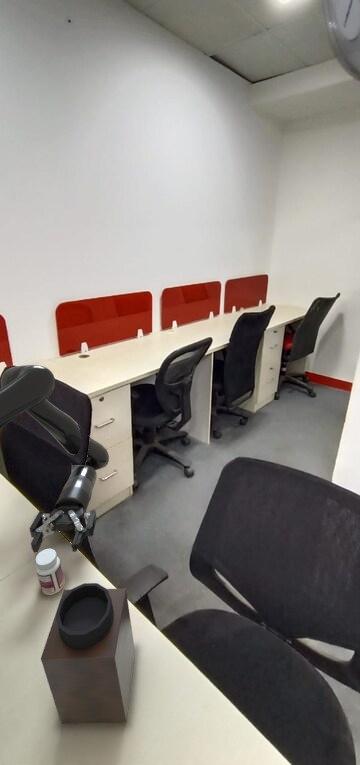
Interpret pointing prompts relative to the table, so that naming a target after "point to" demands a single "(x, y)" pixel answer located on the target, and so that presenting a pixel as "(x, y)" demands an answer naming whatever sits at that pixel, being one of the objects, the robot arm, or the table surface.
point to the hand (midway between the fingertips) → (54, 549)
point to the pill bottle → (49, 572)
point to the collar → (85, 615)
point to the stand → (93, 670)
